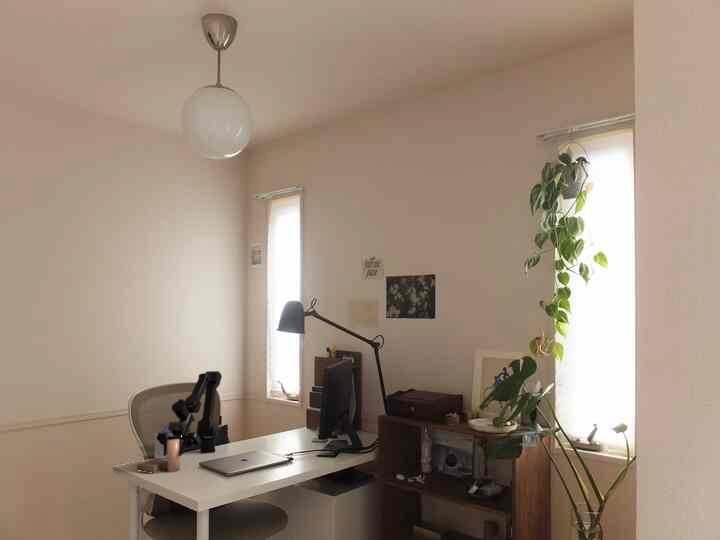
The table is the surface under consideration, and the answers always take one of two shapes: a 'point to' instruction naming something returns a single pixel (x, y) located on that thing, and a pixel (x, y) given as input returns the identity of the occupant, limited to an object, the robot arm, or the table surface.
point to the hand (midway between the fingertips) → (171, 455)
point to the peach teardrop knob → (173, 455)
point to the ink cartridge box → (159, 447)
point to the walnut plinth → (153, 465)
